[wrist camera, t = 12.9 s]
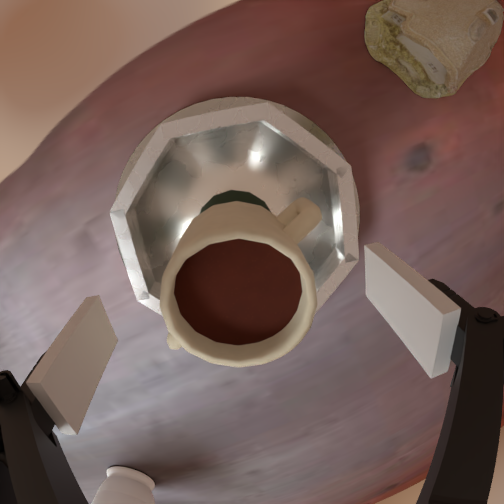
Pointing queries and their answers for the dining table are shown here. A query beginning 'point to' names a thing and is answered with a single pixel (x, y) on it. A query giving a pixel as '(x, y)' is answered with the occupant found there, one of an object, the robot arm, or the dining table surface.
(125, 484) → the jar
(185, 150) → the octagonal bowl
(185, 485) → the dining table surface
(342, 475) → the dining table surface
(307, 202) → the character mug
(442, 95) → the ceramic model
